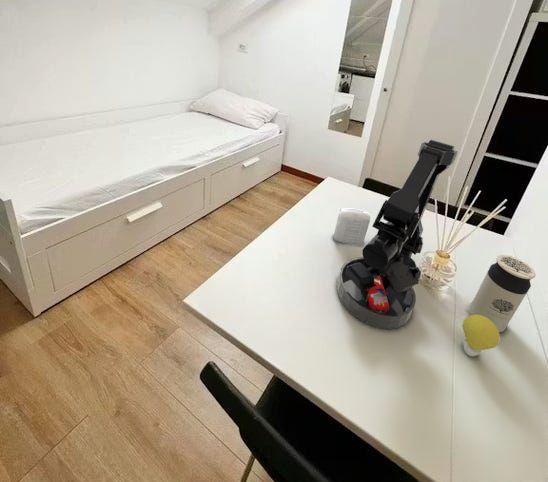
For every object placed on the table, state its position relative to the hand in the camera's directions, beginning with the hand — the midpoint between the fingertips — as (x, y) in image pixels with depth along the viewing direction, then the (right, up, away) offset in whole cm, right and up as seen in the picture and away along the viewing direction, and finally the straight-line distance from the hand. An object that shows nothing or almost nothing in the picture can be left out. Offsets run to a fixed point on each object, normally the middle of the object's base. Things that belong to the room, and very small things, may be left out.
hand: (374, 292), depth 78 cm
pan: (0, -1, +1) cm, 1 cm away
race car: (0, -1, 0) cm, 1 cm away
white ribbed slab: (-2, +8, +21) cm, 23 cm away
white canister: (+28, -6, -2) cm, 29 cm away
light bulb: (+18, -8, -11) cm, 23 cm away
